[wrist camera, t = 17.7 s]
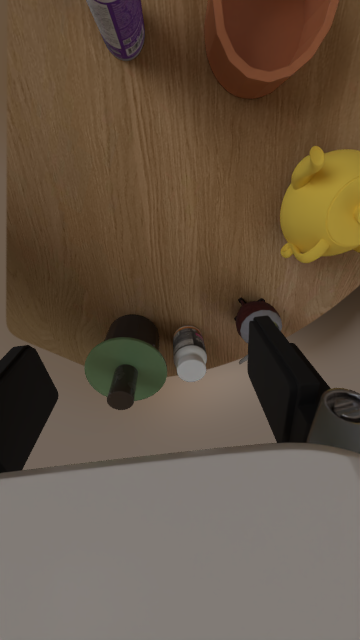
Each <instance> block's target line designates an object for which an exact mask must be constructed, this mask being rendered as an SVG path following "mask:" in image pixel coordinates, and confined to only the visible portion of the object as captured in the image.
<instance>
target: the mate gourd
mask: <svg viewBox="0 0 360 640" xmlns="http://www.w3.org/2000/svg"><path fill="white" fill-rule="evenodd" d="M238 301H239V302H240V303H241V305H242V307H241V308H240V310H239V312H238V314H237V316H236V317H235V318H234V319H235V321H236V327H237V331H238V333H239V335H240V336H241V337H242V338H243V339H244V340H245V342H246V343H248V340H249V322H250V321H253V318H254V317H258V316H266V315H268V316H269V317H270V318H271V320H272V321H273V322H274V323H275V325H276V326H277V327H278V329H279V330H280V331H281V329H282V322H281V318H280V316H279V314H278V313H277V311H276V310H275V309H274V308H273V307H272V306H271V305H270V304H268V303H266V302H265V300H264V299H262V298H261V299H260V300H258V301H253V302H249V303H246V302H245V301H244V300H243V298H242V297H241V298H239V299H238ZM247 359H248V355H246V356H245V357H244V358H243V359H241V360H240V362H239V363H240V364H241V363H243V362H244V361H246V360H247Z"/></svg>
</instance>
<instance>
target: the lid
mask: <svg viewBox="0 0 360 640" xmlns="http://www.w3.org/2000/svg"><path fill="white" fill-rule="evenodd" d="M85 374H86V378H87V380H88V382H89V383H90V384H91V386H92V387H93V388H94V389H95V390H97V391H98V392H99V393H101V394H102V395H104V396H106V397H107V402H108V404H109V405H110V406H111V407H112V408H115V409H118V410H125V409H128V408H130V407H131V406H132V405H133V403H134V401H137V400H142V399H145V398H148V397H150V396H152V395H154V394H155V393H156V392H158V391H159V390H160V389H161V387H162V386H163V384H164V383H165V380H166V377H167V365H166V362H165V360H164V358H163V356H162V355H161V353H160V352H159V351H158V350H157V349H156V348H155V347H153V346H152V345H150V344H148V343H146V342H144V341H142V340H139V339H135V338H128V337H119V338H112V339H109V340H106V341H104V342H101V343H100V344H98V345H97V346H95V347H94V348H93V349H92V350H91V352H90V353H89V355H88V357H87V359H86V361H85Z"/></svg>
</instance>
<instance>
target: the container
mask: <svg viewBox="0 0 360 640" xmlns="http://www.w3.org/2000/svg"><path fill="white" fill-rule="evenodd" d="M86 1H87V3H88V6H89V8H90V10H91V12H92V15H93V17H94V19H95V21H96V24H97V26H98V28H99V30H100V33H101V35H102V37H103V40H104V42H105V44H106V46H107V48H108V49H109V51H110V52H111V53H112V54H113V55H114V56H115V57H116V58H118V59H120V60H123V61H129V60H132V59H134V58H135V57H136V56H137V55H138V54H139V53H140V51H141V49H142V47H143V44H144V38H145V29H144V21H143V14H142V7H141V0H86Z"/></svg>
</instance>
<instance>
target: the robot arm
mask: <svg viewBox="0 0 360 640" xmlns="http://www.w3.org/2000/svg"><path fill="white" fill-rule="evenodd" d="M248 374H249V378H250V380H251V382H252V385H253V387H254V389H255V391H256V394H257V396H258V399H259V401H260V403H261V406H262V408H263V411H264V413H265V415H266V417H267V420H268V422H269V425H270V427H271V429H272V432H273V434H274V436H275V439H276V441H277V443H269V444H255V445H246V446H234V447H223V448H214V449H205V450H195V451H186V452H177V453H168V454H160V455H150V456H141V457H133V458H123V459H114V460H106V461H98V462H89V463H80V464H71V465H64V466H54V467H47V468H38V469H31V470H22V469H23V467H24V465H25V463H26V461H27V459H28V457H29V455H30V452H31V451H32V449H33V447H34V445H35V443H36V441H37V439H38V437H39V435H40V433H41V431H42V429H43V427H44V425H45V423H46V422H47V419H48V418H49V416H50V414H51V412H52V410H53V408H54V406H55V404H56V402H57V399H58V391H57V389H56V387H55V386H54V384H53V382H52V380H51V378H50V376H49V374H48V372H47V370H46V368H45V366H44V364H43V362H42V361H41V359H40V357H39V355H38V353H37V351H36V349H34V348H32V347H31V346H29V345H26V346H17V347H13V348H12V349H11V350H10V351H9V352H8V353H7V354H6V355H5V356H4V357H3V358H2V359H1V360H0V640H360V394H359V393H357V392H355V391H352V390H348V389H344V388H333V389H331V388H330V387H329V386H328V385H327V383H326V382H325V381H324V380H323V378H322V377H321V376H320V375H319V373H318V372H317V371H316V370H315V368H314V367H313V366H312V365H311V363H310V362H309V361H308V360H307V359H306V357H305V356H304V355H303V353H302V352H301V351H300V350H299V348H298V347H297V346H296V345H295V344H294V343H289V342H288V340H287V339H286V338H285V336H284V335H283V334H282V333H281V331H280V330H279V329H278V327H277V326H276V325H275V323H274V322H273V321H272V320H271V318H270V317H269V316H268V315H266V316H258V317H254V318H253V321H250V322H249V340H248Z"/></svg>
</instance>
